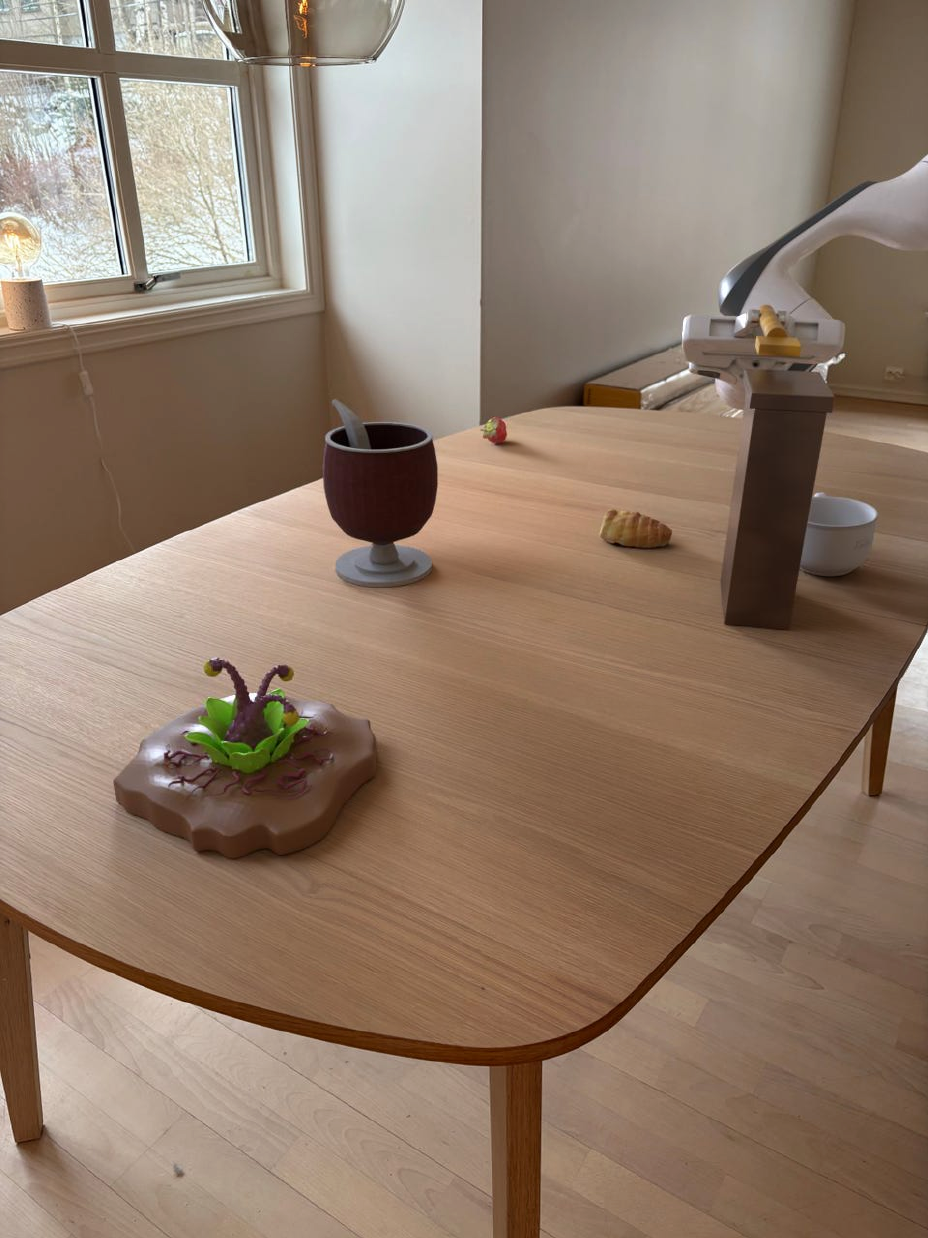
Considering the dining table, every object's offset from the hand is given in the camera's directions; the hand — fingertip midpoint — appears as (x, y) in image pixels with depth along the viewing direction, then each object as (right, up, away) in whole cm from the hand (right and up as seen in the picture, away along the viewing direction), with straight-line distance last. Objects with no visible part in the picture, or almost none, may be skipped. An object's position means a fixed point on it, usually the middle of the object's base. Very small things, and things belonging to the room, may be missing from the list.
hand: (768, 315), depth 117 cm
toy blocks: (-1, -5, -6) cm, 7 cm away
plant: (-56, -51, -36) cm, 84 cm away
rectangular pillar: (-4, -36, -6) cm, 36 cm away
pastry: (-15, -27, +13) cm, 33 cm away
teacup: (+9, -30, +6) cm, 32 cm away
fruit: (-32, -5, +55) cm, 64 cm away
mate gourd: (-48, -31, +4) cm, 57 cm away
